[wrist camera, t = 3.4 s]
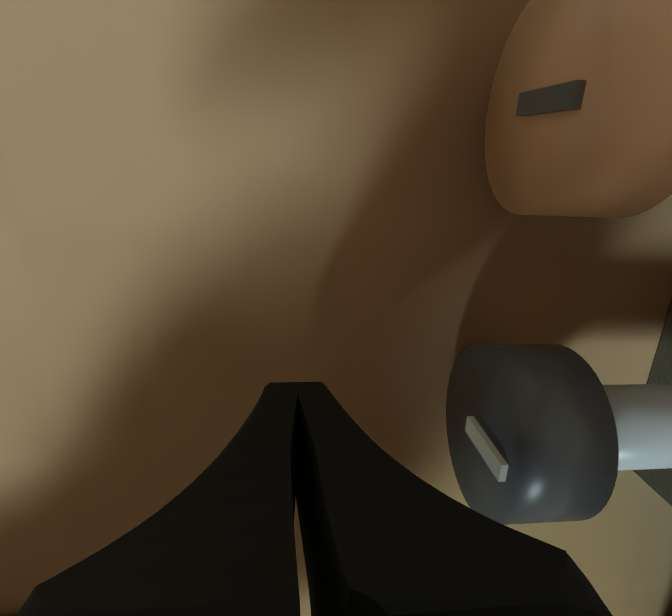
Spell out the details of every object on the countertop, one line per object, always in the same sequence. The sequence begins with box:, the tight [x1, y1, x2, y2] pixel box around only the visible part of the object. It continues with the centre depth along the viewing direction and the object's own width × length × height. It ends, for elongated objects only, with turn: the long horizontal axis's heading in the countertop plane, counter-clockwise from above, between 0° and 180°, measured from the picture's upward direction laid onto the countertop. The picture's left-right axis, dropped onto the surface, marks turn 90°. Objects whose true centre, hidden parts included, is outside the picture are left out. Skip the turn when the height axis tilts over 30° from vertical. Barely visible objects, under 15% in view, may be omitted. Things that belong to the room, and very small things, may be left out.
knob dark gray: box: [446, 344, 672, 525], centre depth 11 cm, size 9×4×4 cm, turn 87°
